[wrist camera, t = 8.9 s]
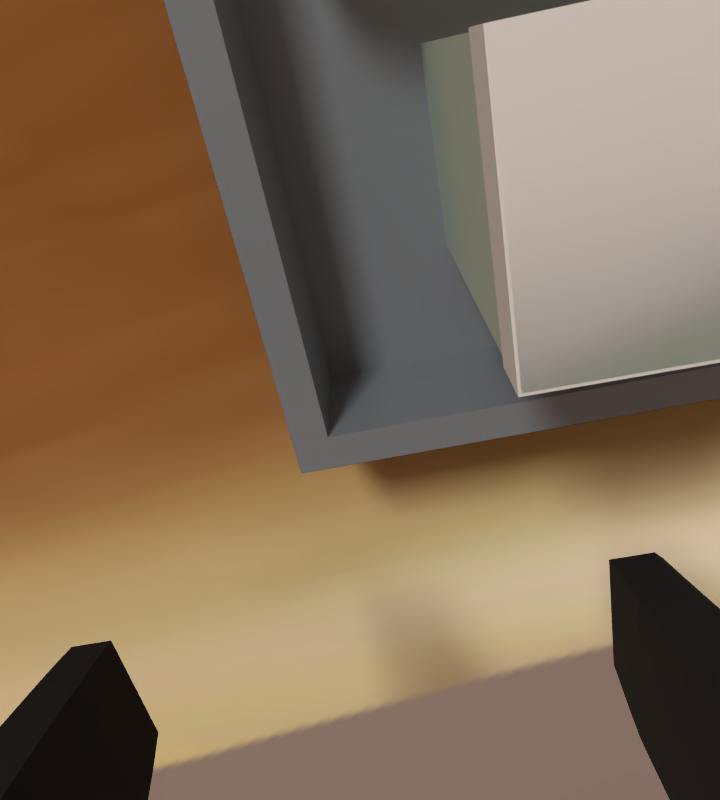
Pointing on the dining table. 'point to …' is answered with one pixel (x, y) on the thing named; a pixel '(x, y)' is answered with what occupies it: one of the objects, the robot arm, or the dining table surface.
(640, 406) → the tote
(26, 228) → the dining table surface
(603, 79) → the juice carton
